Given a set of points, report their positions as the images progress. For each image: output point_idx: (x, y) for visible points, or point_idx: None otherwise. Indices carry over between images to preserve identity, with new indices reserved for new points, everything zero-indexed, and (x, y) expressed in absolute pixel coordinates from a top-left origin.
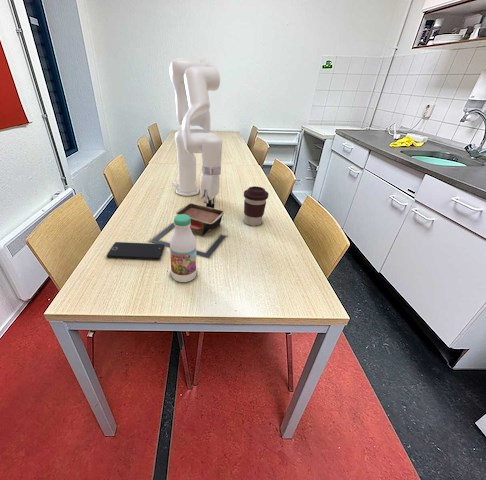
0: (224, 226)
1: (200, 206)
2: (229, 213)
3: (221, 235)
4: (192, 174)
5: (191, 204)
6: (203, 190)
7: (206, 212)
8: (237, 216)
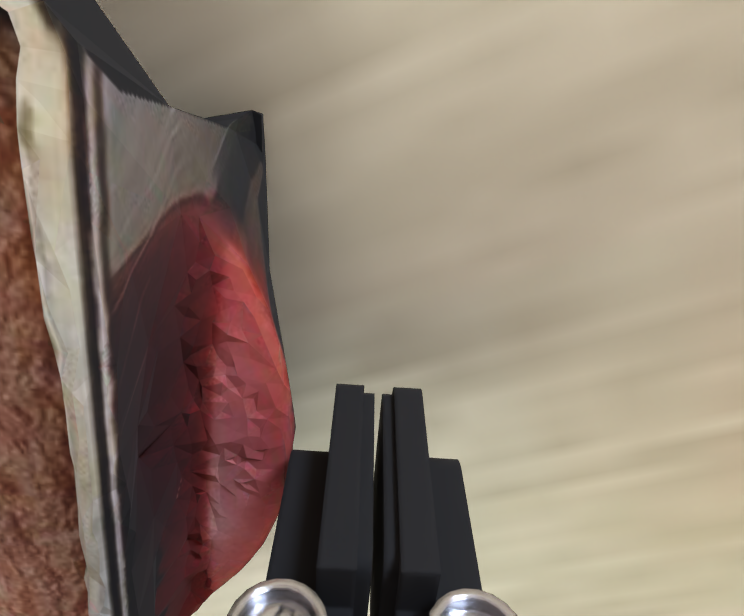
0: None
1: (75, 445)
2: (664, 525)
3: None
4: None
5: (27, 41)
6: None
7: (4, 566)
8: (584, 608)
